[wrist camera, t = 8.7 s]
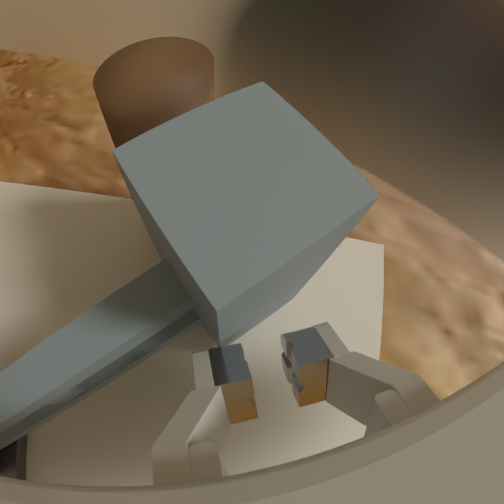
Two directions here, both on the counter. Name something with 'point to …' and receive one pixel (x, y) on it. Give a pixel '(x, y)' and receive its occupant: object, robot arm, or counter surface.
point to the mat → (172, 356)
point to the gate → (201, 245)
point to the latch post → (153, 84)
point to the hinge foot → (14, 459)
